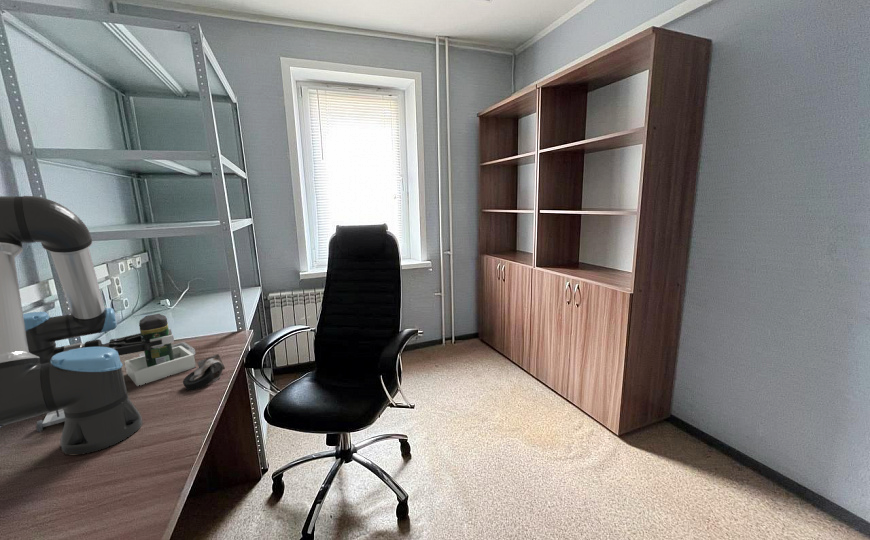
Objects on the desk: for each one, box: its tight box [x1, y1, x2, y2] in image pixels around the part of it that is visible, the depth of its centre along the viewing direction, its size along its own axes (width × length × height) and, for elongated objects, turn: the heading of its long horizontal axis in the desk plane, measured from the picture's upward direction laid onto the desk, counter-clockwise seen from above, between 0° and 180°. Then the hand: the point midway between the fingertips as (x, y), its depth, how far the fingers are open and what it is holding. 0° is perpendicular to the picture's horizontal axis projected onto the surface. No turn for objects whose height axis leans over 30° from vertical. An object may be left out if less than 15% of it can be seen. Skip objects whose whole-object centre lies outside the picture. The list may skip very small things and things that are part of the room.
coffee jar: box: [138, 313, 174, 367], centre depth 123 cm, size 10×8×19 cm
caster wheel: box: [182, 353, 226, 391], centre depth 115 cm, size 7×11×10 cm
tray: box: [124, 346, 197, 387], centre depth 125 cm, size 15×17×5 cm
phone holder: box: [35, 409, 65, 433], centre depth 99 cm, size 18×10×12 cm
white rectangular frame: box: [138, 341, 196, 359], centre depth 137 cm, size 13×15×2 cm
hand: (172, 335), depth 126 cm, fingers closed on coffee jar, 8 cm apart
